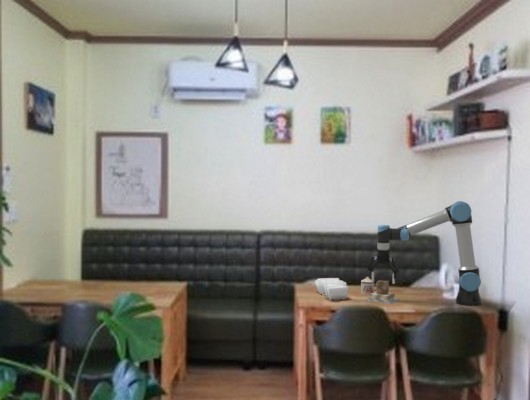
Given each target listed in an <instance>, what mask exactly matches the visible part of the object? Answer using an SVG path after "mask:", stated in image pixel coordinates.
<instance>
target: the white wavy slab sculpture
mask: <svg viewBox="0 0 530 400" xmlns="http://www.w3.org/2000/svg"><path fill="white" fill-rule="evenodd" d="M314 283H315V287H316V289H317V292H318V293H319V292H320V293H323V294H326V296H325V298H326V297H328V298H329V299H343V298H346V299H348V296H349V286H348V285H347V282H346V281H343V280H340V278H339V277H327V278H324V277H323V278H317V279H316V280H314ZM329 299H328V300H329Z"/></svg>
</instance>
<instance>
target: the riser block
mask: <svg viewBox="0 0 530 400" xmlns="http://www.w3.org/2000/svg"><path fill="white" fill-rule="evenodd" d="M395 297H396V296H395V292H389V293H388V294H386V295H382V294H376V291H374V293H372V294H370V295H369V298H370V300H371V301H370V302H373V301H379V302H378V303H381V302H387V303H386V304H389V302H391V301H392V300H394V299H396V298H395Z"/></svg>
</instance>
